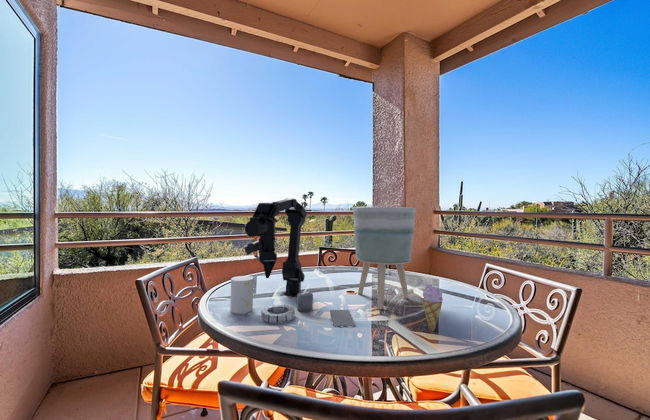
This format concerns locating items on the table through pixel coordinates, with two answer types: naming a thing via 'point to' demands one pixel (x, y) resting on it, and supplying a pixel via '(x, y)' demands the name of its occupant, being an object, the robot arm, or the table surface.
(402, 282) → the planter
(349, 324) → the smartphone
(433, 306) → the ice cream cone
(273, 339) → the table surface
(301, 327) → the table surface
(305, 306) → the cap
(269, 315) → the segmented grey ring
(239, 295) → the grey cylinder
